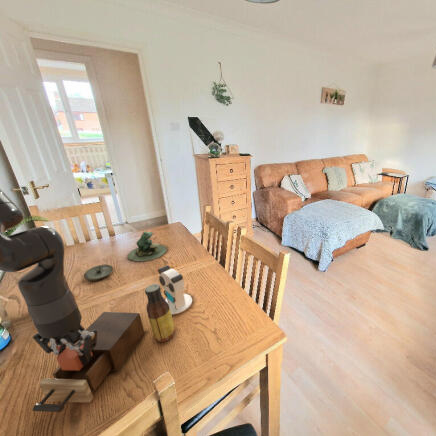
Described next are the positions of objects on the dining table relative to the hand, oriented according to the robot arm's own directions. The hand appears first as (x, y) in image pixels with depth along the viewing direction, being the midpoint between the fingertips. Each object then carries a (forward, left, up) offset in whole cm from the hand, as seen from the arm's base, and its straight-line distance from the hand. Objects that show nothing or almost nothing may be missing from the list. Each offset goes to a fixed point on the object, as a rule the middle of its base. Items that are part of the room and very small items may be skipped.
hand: (77, 361), depth 61 cm
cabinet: (0, +10, -8) cm, 13 cm away
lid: (-32, +47, -9) cm, 58 cm away
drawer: (0, -1, -8) cm, 8 cm away
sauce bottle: (+13, +16, -9) cm, 23 cm away
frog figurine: (-22, +68, -9) cm, 72 cm away
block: (0, 0, 0) cm, 0 cm away
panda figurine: (+10, +31, -9) cm, 34 cm away
